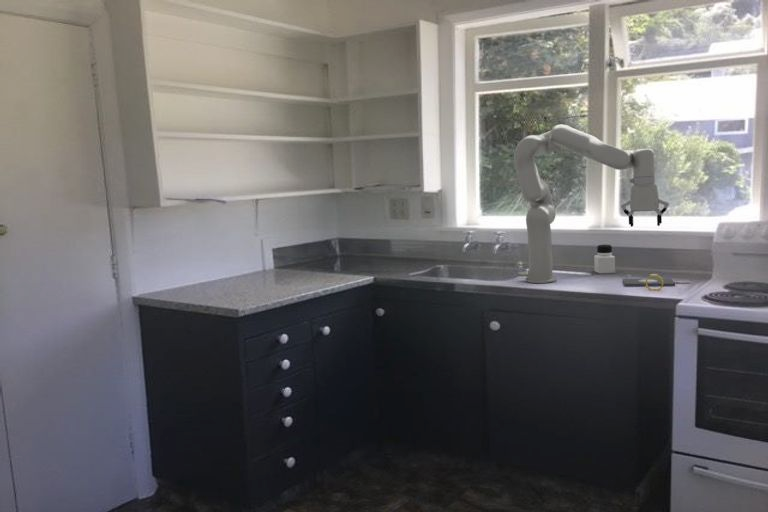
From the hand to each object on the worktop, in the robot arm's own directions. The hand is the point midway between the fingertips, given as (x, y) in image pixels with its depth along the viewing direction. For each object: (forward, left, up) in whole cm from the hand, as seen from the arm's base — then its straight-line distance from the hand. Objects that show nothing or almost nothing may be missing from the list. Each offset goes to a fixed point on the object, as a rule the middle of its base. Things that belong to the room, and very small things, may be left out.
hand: (645, 226), depth 263 cm
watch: (+2, -15, -23) cm, 27 cm away
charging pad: (+4, -1, -22) cm, 23 cm away
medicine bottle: (-14, +29, -23) cm, 40 cm away
